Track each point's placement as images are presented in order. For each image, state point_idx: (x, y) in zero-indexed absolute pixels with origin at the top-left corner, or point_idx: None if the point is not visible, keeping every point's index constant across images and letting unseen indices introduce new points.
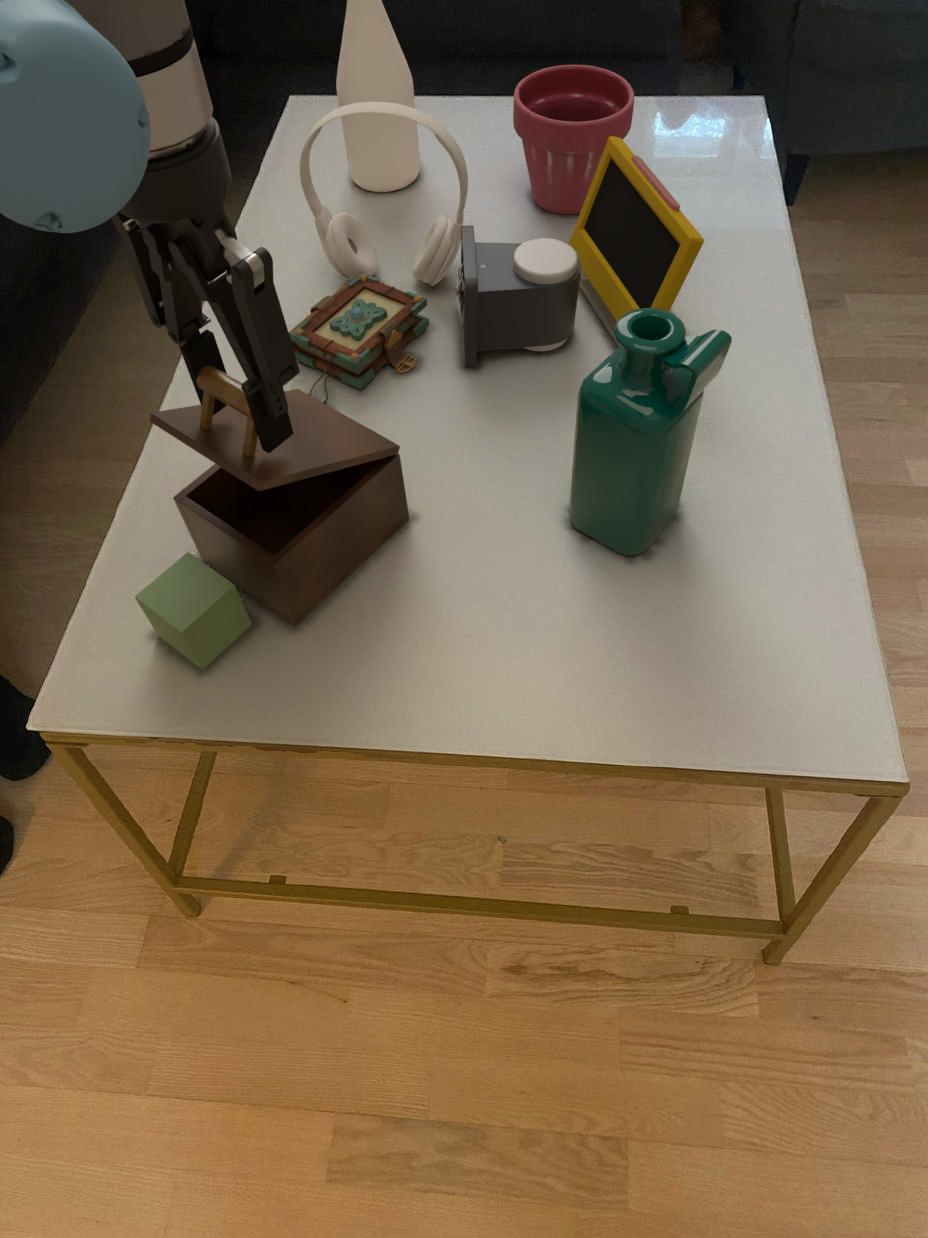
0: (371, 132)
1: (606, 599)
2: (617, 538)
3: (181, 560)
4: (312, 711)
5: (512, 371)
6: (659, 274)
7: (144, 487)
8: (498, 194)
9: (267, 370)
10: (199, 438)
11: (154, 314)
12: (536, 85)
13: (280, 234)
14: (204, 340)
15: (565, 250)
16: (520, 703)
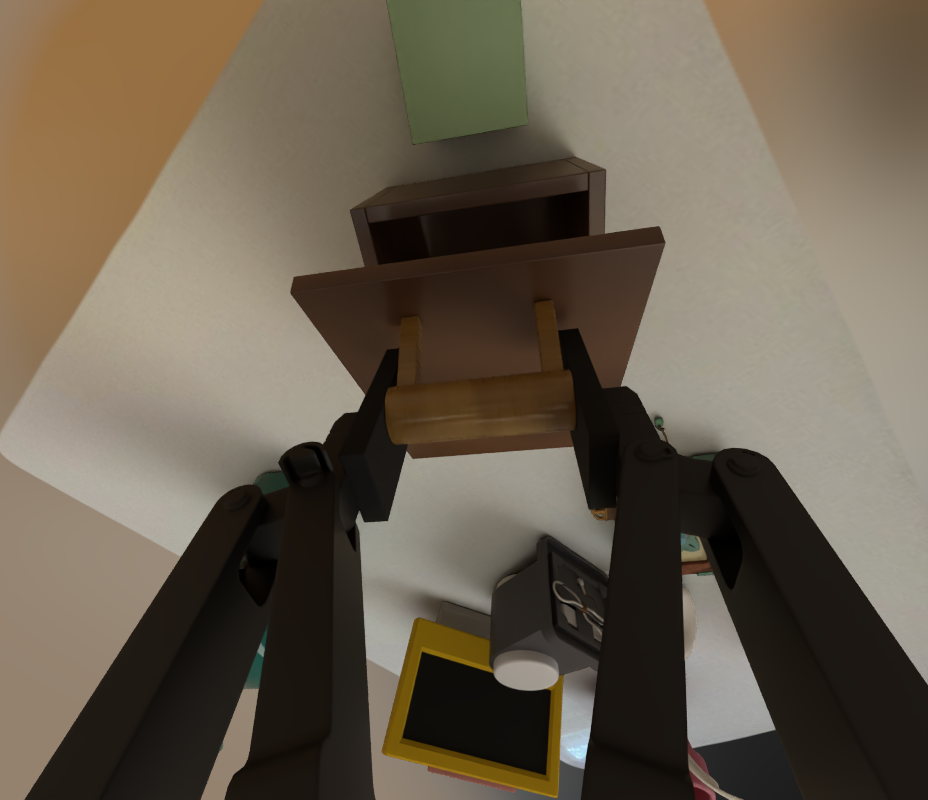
0: None
1: (230, 434)
2: (260, 485)
3: (520, 101)
4: (256, 113)
5: (508, 551)
6: (421, 697)
7: (766, 175)
8: (685, 668)
9: (191, 548)
10: (502, 277)
11: (742, 488)
12: (702, 790)
13: (887, 556)
14: (588, 482)
15: (516, 685)
16: (158, 306)
